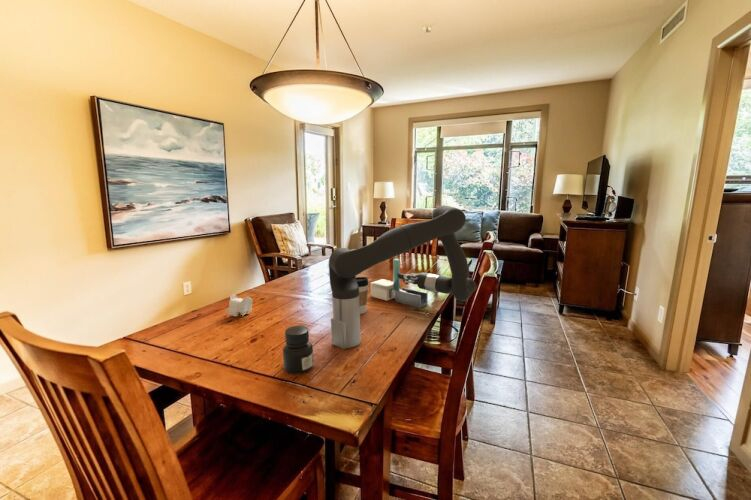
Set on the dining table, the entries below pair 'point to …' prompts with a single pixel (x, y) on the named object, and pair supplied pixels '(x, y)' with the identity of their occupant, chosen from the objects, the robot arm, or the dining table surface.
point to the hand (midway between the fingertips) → (399, 275)
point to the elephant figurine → (239, 305)
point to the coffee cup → (362, 293)
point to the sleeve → (411, 297)
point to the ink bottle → (297, 350)
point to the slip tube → (395, 278)
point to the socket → (381, 289)
